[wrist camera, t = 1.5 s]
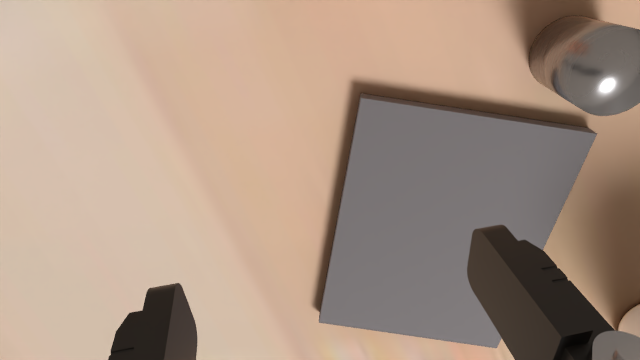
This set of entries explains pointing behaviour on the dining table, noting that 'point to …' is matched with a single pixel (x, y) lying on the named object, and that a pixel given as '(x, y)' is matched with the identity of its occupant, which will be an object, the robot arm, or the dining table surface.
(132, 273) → the dining table surface
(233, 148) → the dining table surface
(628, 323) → the drinking glass
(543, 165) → the charcoal mat
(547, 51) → the grey tin
